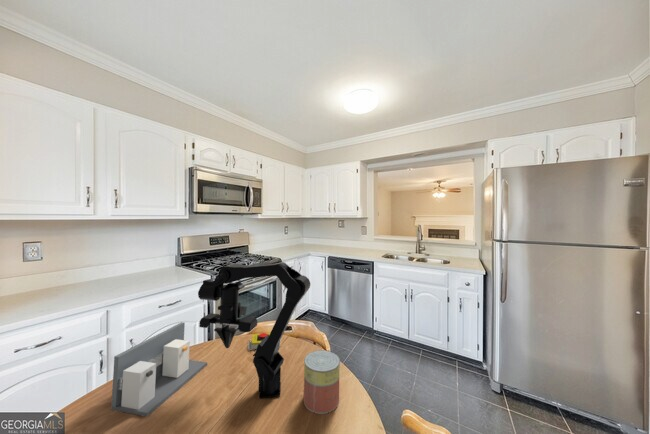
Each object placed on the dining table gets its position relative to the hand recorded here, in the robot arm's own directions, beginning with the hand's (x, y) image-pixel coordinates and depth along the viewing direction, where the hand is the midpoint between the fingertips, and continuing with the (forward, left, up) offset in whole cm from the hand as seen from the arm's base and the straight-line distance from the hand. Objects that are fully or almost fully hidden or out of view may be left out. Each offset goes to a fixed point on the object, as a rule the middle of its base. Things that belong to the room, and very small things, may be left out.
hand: (227, 347), depth 78 cm
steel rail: (+24, -4, -6) cm, 25 cm away
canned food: (-31, +12, -12) cm, 35 cm away
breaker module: (+18, -7, -11) cm, 22 cm away
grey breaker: (+23, +6, -11) cm, 26 cm away
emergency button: (-11, -26, -13) cm, 31 cm away
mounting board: (+20, -3, -12) cm, 23 cm away
